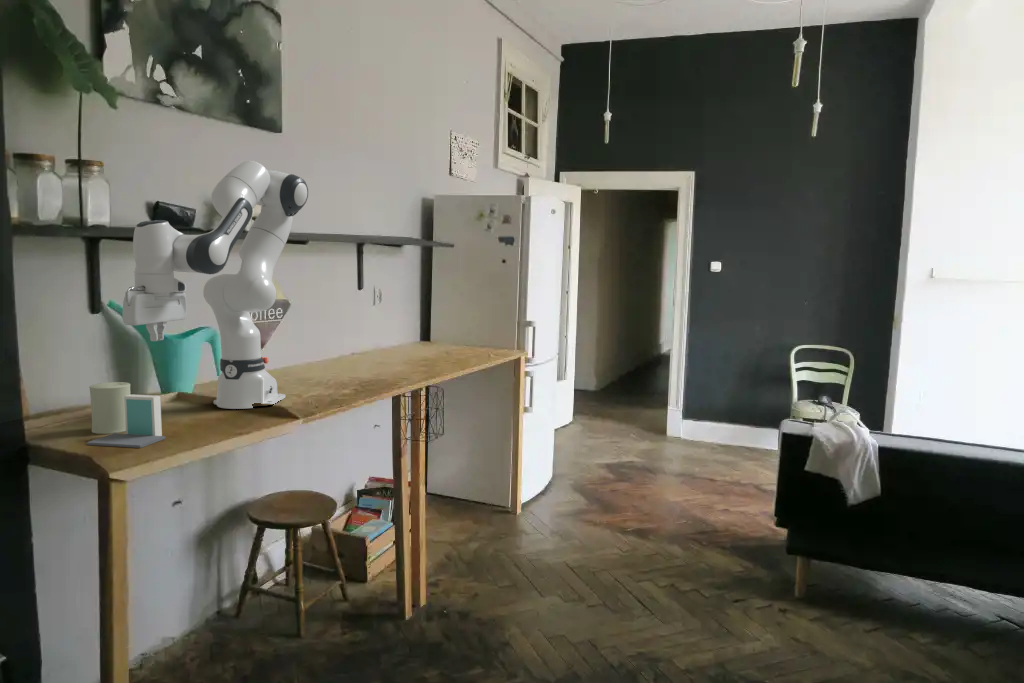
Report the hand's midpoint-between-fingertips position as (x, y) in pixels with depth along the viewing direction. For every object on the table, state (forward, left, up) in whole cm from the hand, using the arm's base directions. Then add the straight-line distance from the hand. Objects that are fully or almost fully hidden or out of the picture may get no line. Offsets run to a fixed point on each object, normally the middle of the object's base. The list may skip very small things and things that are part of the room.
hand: (157, 340), depth 182 cm
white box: (+6, 0, -23) cm, 24 cm away
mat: (+12, 0, -23) cm, 26 cm away
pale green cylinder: (+2, -12, -23) cm, 26 cm away
